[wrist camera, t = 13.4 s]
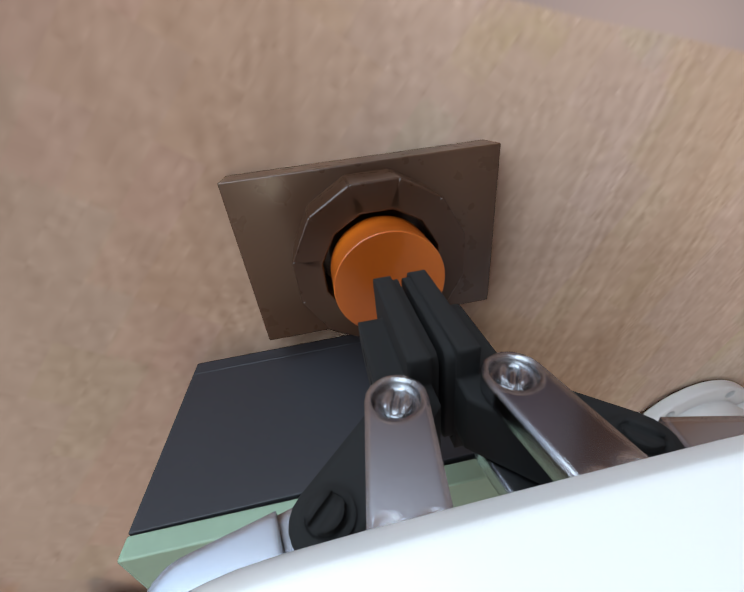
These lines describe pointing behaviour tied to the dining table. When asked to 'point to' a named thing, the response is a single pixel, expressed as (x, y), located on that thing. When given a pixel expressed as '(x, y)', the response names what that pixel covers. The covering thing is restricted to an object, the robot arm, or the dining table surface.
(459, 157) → the switch block
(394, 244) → the button
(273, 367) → the dark grey hollow box
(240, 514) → the lid
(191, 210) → the dining table surface
